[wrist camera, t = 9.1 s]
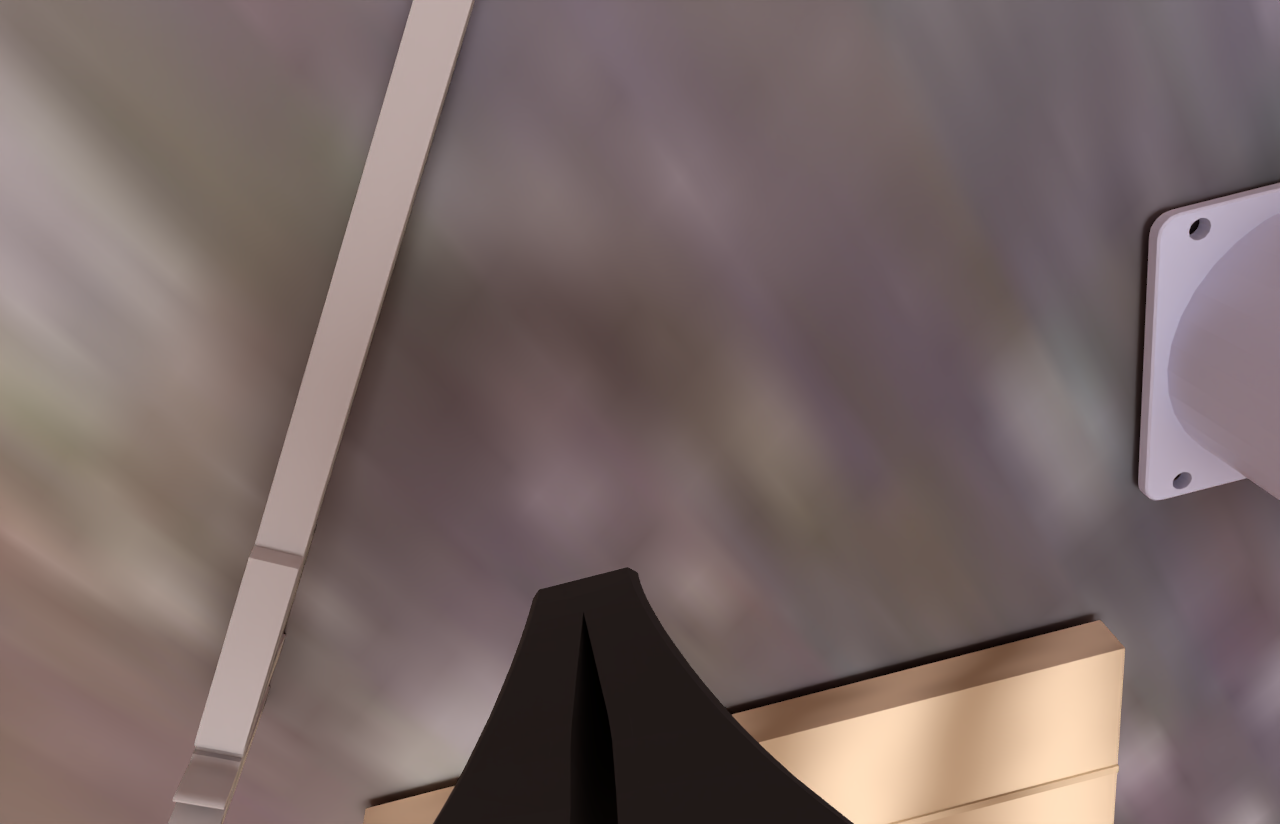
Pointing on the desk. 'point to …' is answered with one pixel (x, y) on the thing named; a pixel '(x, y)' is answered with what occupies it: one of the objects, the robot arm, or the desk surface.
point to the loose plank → (945, 738)
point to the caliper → (323, 406)
